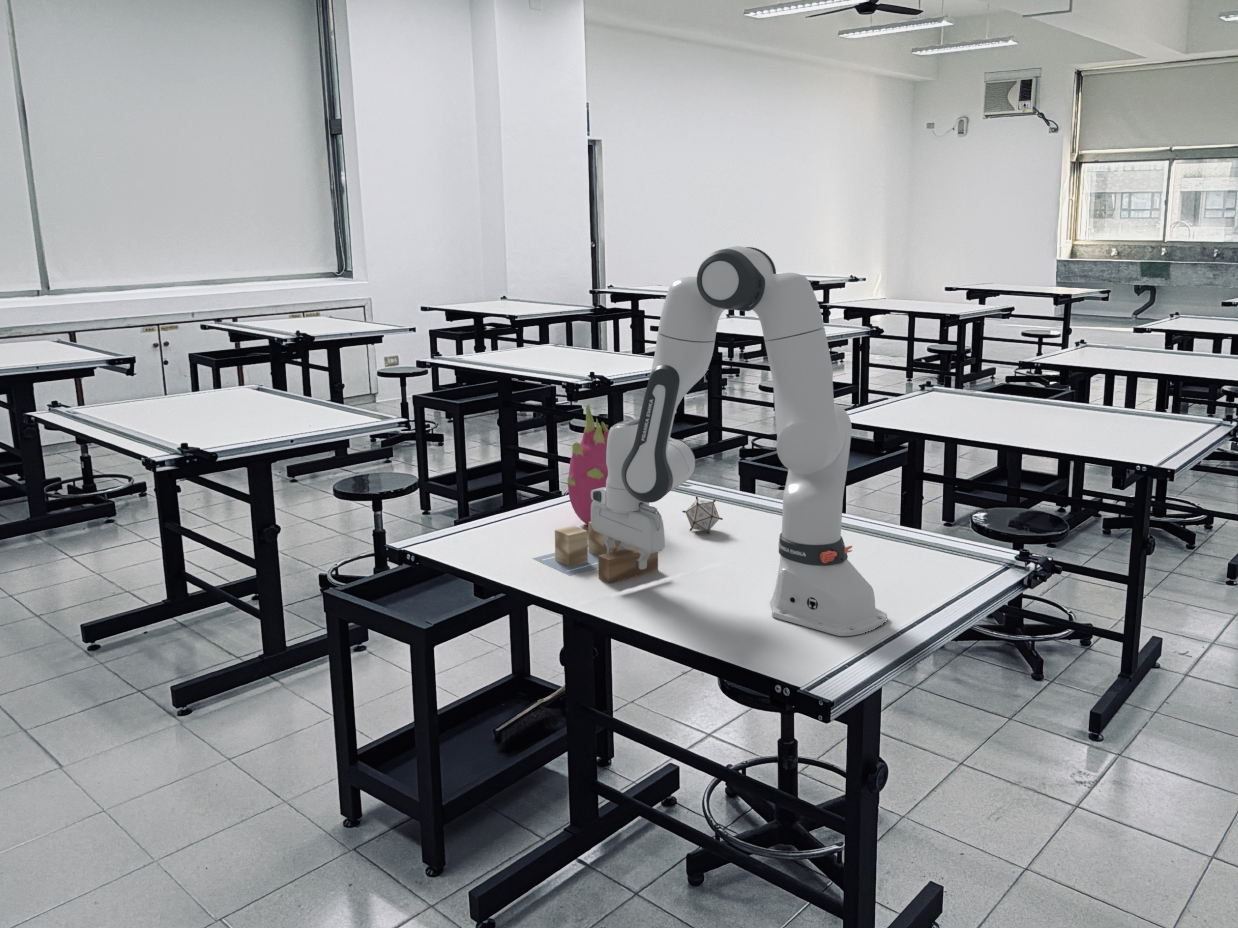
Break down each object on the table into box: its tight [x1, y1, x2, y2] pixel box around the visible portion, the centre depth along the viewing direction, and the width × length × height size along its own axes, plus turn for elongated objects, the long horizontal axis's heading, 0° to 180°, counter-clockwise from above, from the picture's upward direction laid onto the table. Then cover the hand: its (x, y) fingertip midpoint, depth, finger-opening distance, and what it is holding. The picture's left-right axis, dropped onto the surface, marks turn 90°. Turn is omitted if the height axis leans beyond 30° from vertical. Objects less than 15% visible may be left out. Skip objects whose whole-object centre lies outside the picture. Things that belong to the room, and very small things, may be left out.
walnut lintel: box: [597, 546, 659, 585], centre depth 212 cm, size 4×13×6 cm, turn 128°
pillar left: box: [554, 525, 589, 567], centre depth 220 cm, size 5×5×7 cm
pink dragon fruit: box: [567, 403, 610, 526], centre depth 244 cm, size 18×14×30 cm
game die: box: [681, 495, 724, 535], centre depth 243 cm, size 9×8×10 cm
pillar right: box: [587, 522, 621, 556], centre depth 225 cm, size 5×5×7 cm
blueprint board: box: [531, 543, 626, 577], centre depth 224 cm, size 14×20×1 cm
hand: (626, 561), depth 212 cm, fingers open, 8 cm apart
